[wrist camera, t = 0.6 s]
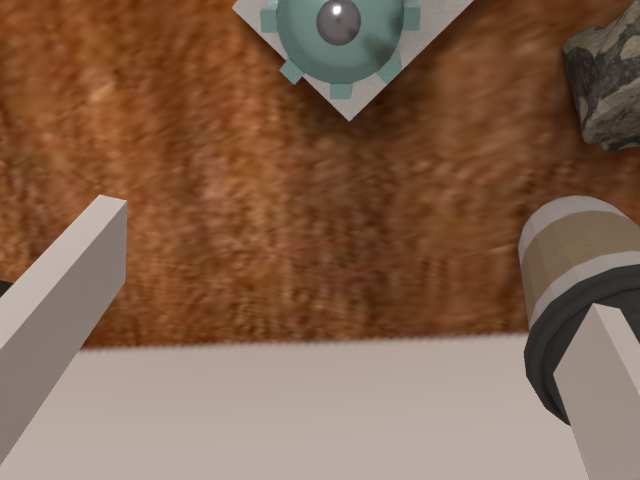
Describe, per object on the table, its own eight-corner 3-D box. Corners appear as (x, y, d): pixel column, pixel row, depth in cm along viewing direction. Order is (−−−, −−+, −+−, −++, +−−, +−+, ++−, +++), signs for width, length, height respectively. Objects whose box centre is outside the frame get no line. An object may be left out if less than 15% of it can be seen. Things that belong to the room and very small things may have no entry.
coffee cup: (511, 318, 46) (560, 479, 33) (469, 197, 41) (508, 329, 28) (665, 278, 43) (787, 438, 30) (640, 141, 38) (772, 261, 25)
